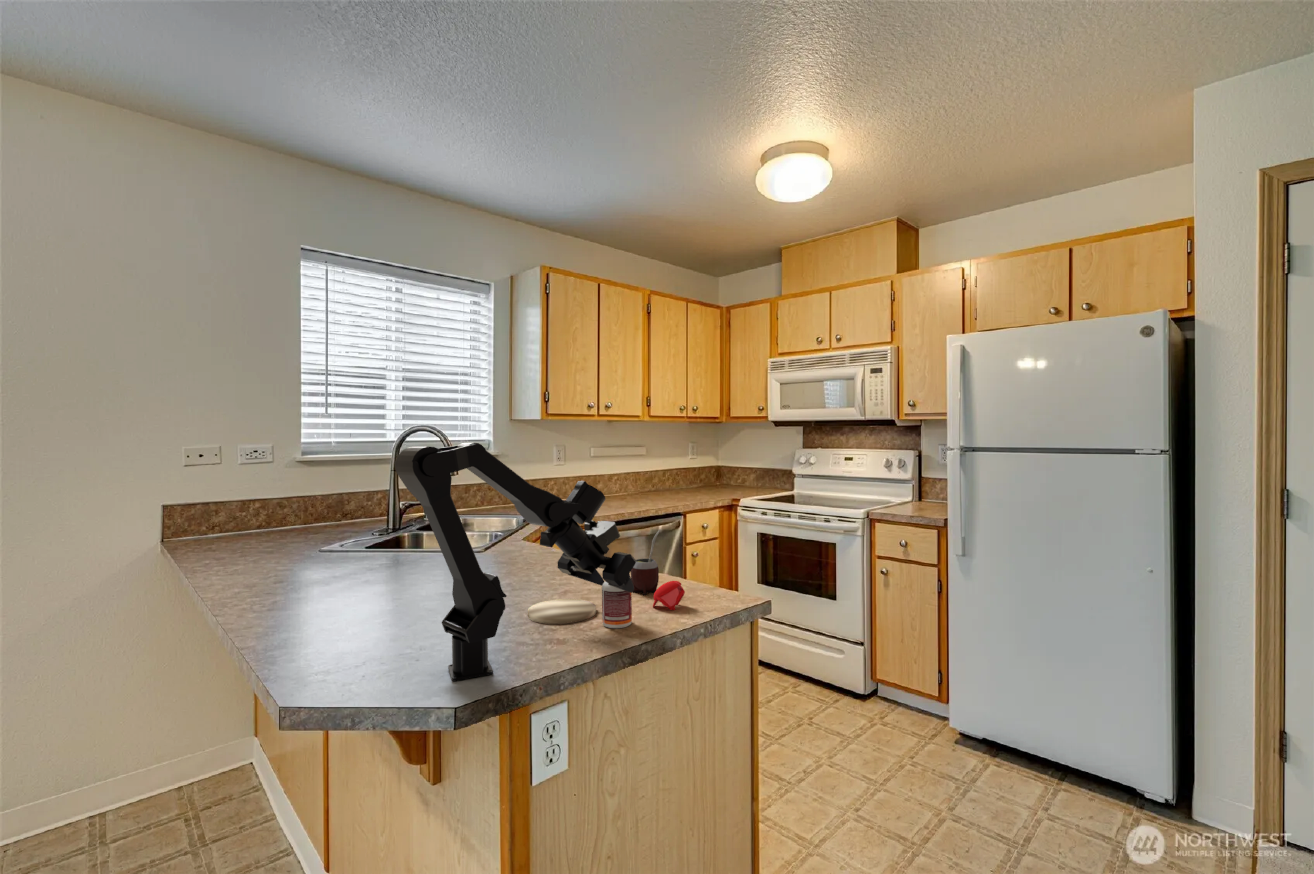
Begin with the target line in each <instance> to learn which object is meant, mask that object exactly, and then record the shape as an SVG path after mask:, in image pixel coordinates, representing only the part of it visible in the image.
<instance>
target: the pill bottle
mask: <svg viewBox="0 0 1314 874" xmlns="http://www.w3.org/2000/svg"><path fill="white" fill-rule="evenodd" d="M608 584H609V583H607V582H606V581H605V580H604V583H603V584H602V586H601V611H602V612H601V615H602V617H601V620H602V621H601V623H602V626H604V627H606V628H609V629H623V628H626V627H629V626H631V624H632V623H633V617H632V616H633V612H632V611H633V608H632V605H633V604H632V601H633V598H632V593H630V592H627V591H624V590H622V589H619V588H616V587H613V586H611V585H608Z"/></svg>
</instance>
